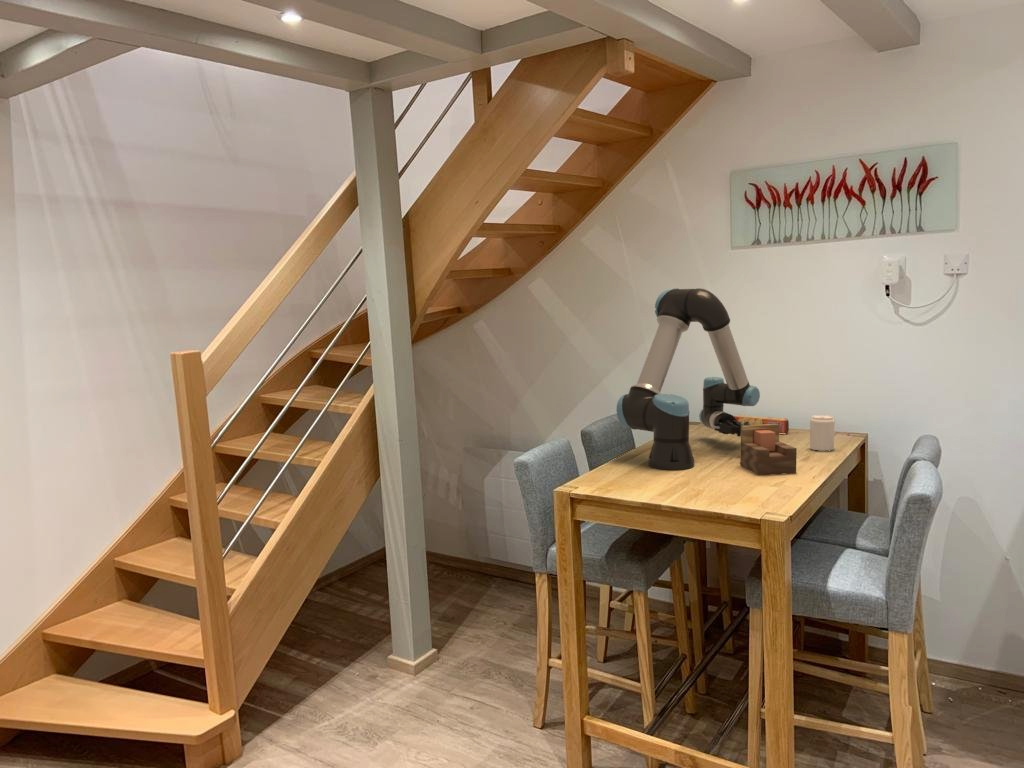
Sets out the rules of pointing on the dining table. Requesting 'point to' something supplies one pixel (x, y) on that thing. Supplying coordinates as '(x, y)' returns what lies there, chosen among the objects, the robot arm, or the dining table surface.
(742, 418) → the snack package
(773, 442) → the peg
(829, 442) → the beverage can
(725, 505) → the dining table surface
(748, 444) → the guide block
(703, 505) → the dining table surface
